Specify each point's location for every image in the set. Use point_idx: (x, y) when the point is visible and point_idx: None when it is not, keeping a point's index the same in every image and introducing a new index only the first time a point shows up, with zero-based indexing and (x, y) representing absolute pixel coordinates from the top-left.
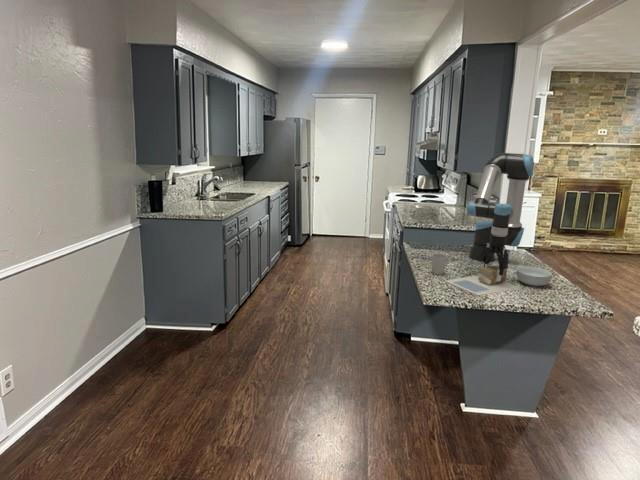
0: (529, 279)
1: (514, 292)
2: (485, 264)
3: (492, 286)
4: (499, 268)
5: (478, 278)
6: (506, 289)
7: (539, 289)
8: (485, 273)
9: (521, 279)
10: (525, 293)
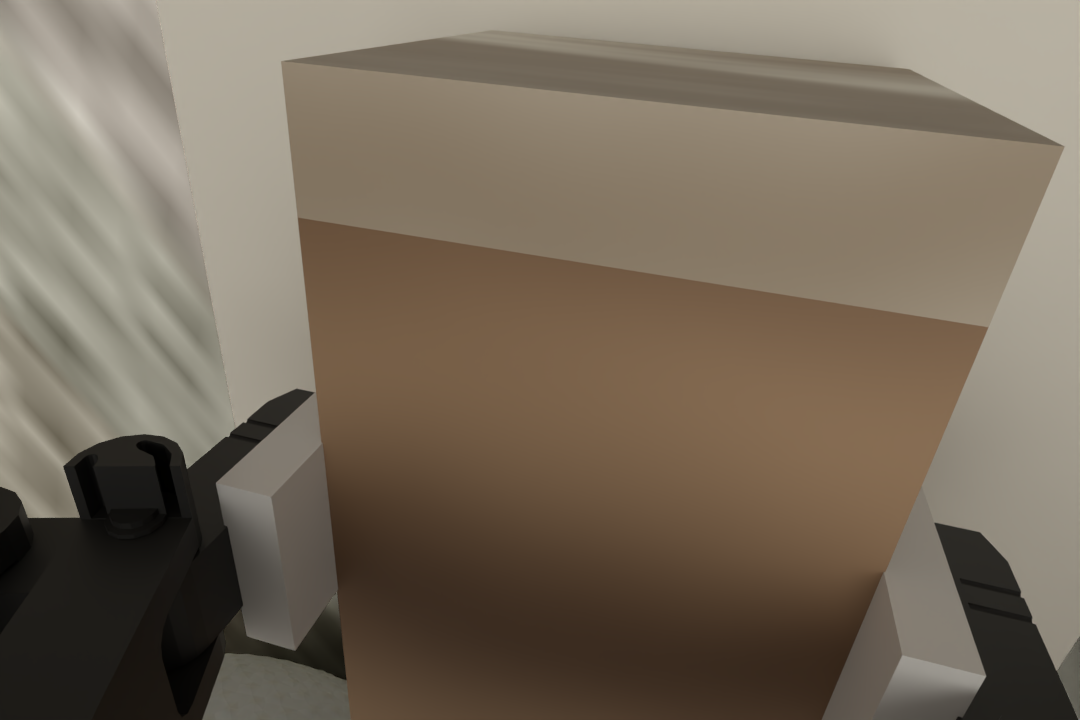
0: None
1: (112, 223)
2: (979, 672)
3: None
4: (113, 463)
5: (915, 75)
6: (214, 197)
7: None
8: (620, 72)
9: (297, 689)
10: (60, 342)
